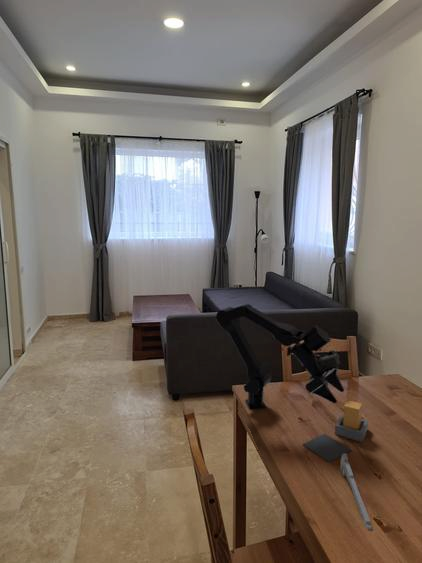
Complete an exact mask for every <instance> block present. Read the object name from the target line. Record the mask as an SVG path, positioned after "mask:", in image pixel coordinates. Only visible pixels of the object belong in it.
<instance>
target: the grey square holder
mask: <svg viewBox="0 0 422 563" xmlns="http://www.w3.org/2000/svg"><path fill="white" fill-rule="evenodd" d="M343 420H344V413H341V415H340V416H339V418H338V420H337V421H336V423H335V425H334V426H335V428H334V435H337V436H341V437H343V438H346V439H347V438H348V439H351V440H353V441H357V442H361V443H363V442H364V440H365V437H366V435H367V432H368V429H369V420H366V419H362V418H361V426H360V431H359V430H356V429H352V428H349V427H345V426H343Z"/></svg>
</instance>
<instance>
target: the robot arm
mask: <svg viewBox="0 0 422 563" xmlns="http://www.w3.org/2000/svg"><path fill="white" fill-rule="evenodd" d="M242 317H243V318H246V319H247V320H249V321H251V322H252V323H254V324H255V325H257V326H259V327H260V328H262V329H264V330H265V331H266V332H269V334H271V335H272V336H273V338H274V339H275V340H276V341H277V342H279V344H280V345H282V346H284V347H287V348H286V356H287V357H290V356H291V355H293V356H294V357H295V358H296V359H297V360H298V361H299V363H300V364H301V366H302V367H301V369H302V371H304V370H306V372H307V373H308V375H310V376H309V379H310V380H308V382H307V383H306V384H305V390H306V391H307V392H308V394H312V395H318V396H319V397H321V398H323V399H325V400H326V401H328V402H331V403H332V404H337V403H338V400H337V398H336V397H335V395H334V394H333V392H332V391H331V389H330V387H329V386H328V385H331V386H332V387H334V388H335V389H336V390H337V391H339V392H341V393H343V392H345V389H344V387H343V384H342V383H341V379H339V374H338V371H339V366H340V364H341V361H340V354H338V352H335V350H334V349H332V350H329V351H328V352H327V355H325V356H323V357H322V356H321V354H316V353H315V352H318V351H320V350H321V349H322V348H324V347H325V346H326V345H328V344H329V343H330V342H331V337H330V335H329V334H328V332H327V331H326V330H323V328H321V327H319V326H318V325H315V326H313V327H312V328H311V329H310V330H309V331H308V332H307V331H303V330H300V329H298V328H297V327H296V326H294V325H291V324H288V323H284V322H280V321H277V320H275V319H274V318H272V317H270V316H269V315H268V314H265V313H264V312H262V311H260V310H259V309H257V308H255V307H253V306H252V305H251V304H249V303H245V304H242V305H239V306H236V307H232V306H228V307H226V308H222V309H219V310H218V311H217V313H216V316H215V318H216V319H215V320H216V322H217V323H218V324H219V326H220V327H221V329H223V330H224V331H225V332H227V333H228V335H229V336H230V339H231V340H232V342H233V344H234V346H235V348H236V350H238V353H239V355H240V358H241V359H242V361H243V362H244V364H245V366H246V371H247V379H248V380H249V381H248V382H247V383H246V384H244V385H243V389H244V391H245V392H246V393H247V399H245V401H246V402H245V403H246V405H247V407H248V409H262V408H264V409H265V408H267V405H266V404H265V402H264V388H265V387H266V386H267V385H269V383H270V382H271V380H272V371H271V370H270V368H269V366H268V364H267V363H266V362H264V363H262V362H261V361H259V359H258V357H257V355H256V354H255V352H254V350H253V348H252V346H251V344H250V343H249V341H248V339H247V338H246V335H245V333H244V331H243V330H242V328H241V321H240V318H242ZM302 341H303V342H302ZM301 342H302V343H301ZM292 345H293V346H292Z"/></svg>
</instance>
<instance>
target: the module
mask: <svg viewBox="0 0 422 563" xmlns="http://www.w3.org/2000/svg"><path fill="white" fill-rule="evenodd" d="M362 405H363V404H362V403H360V402H356V401H352V400H349V399H348V400H346V402H345V403H344V405H343V406H344V408H343V414H344V420H343V426H345V427H349V428H352V429H356V430H359V431H361V429H360V426H361V419H362V409H363V406H362Z"/></svg>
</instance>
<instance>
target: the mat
mask: <svg viewBox="0 0 422 563" xmlns="http://www.w3.org/2000/svg"><path fill="white" fill-rule="evenodd" d="M302 446H303V447H305V448H306V449H308V450H309V451H311V452H313V453H314V454H315V455H317V456H319V457H320V458H321V459H323V460H325V461H326V462H328V463H332V462H333V461H335V460H336V459H339V458H340V457H342V455H343V454H347V453H350V452H351V451H352V448H350V447H349V446H347V445H345V444H343V443H342V442H340V441H338V440H336V439H335V438H333V437H331V436H330V435H328V434H326V433H322V434H321V435H318V436H317V437H315V438H313V439H310V440H308V441H306V442H304V443H302Z"/></svg>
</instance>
